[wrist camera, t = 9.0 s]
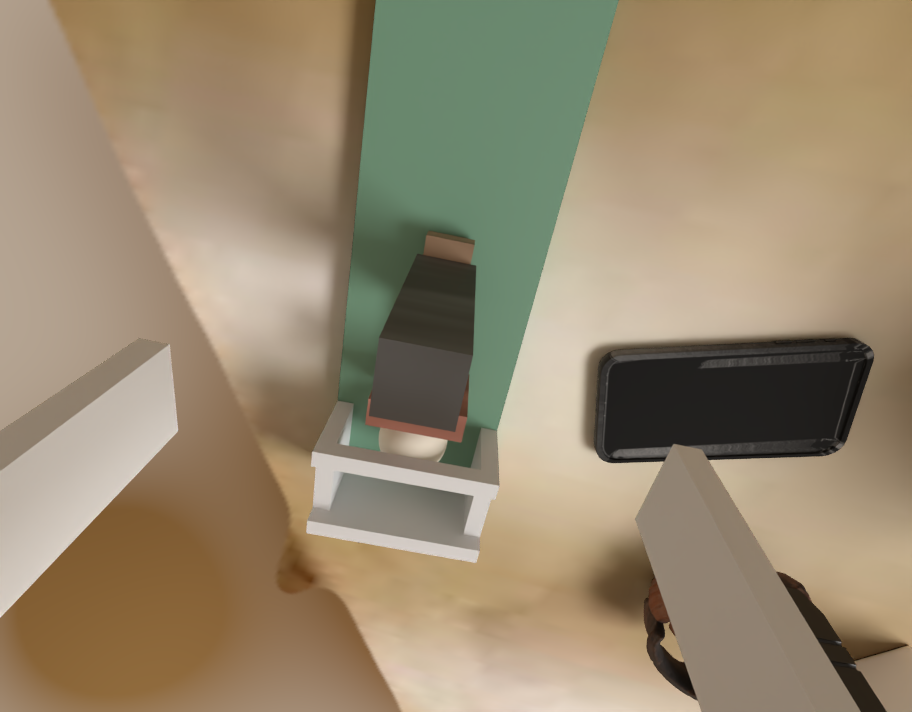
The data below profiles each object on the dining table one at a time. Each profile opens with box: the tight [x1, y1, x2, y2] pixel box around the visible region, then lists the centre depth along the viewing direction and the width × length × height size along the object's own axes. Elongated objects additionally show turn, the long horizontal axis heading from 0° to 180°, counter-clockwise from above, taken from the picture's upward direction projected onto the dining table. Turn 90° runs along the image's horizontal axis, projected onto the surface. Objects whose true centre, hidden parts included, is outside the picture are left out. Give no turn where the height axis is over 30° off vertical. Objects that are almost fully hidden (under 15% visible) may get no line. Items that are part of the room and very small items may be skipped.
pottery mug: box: [644, 572, 812, 701], centre depth 35 cm, size 12×10×8 cm
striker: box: [365, 231, 476, 442], centre depth 22 cm, size 9×5×11 cm, turn 169°
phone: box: [594, 338, 874, 463], centre depth 29 cm, size 8×1×15 cm
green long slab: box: [306, 0, 619, 563], centre depth 24 cm, size 31×10×6 cm, turn 169°
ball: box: [379, 428, 447, 462], centre depth 28 cm, size 4×4×4 cm
